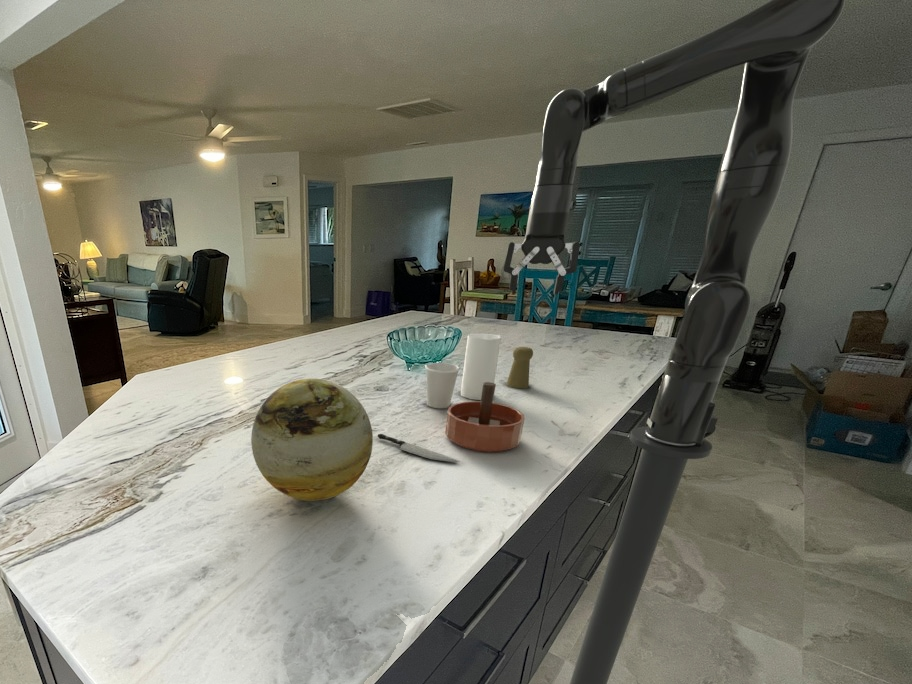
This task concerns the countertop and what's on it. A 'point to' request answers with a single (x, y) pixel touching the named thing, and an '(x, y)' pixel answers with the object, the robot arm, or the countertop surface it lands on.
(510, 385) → the olive pepper shaker
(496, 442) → the bowl
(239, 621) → the countertop surface
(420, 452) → the chef's knife
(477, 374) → the white tall cylinder
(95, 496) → the countertop surface
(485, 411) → the scrub brush
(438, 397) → the dixie cup
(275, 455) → the decorative sphere
